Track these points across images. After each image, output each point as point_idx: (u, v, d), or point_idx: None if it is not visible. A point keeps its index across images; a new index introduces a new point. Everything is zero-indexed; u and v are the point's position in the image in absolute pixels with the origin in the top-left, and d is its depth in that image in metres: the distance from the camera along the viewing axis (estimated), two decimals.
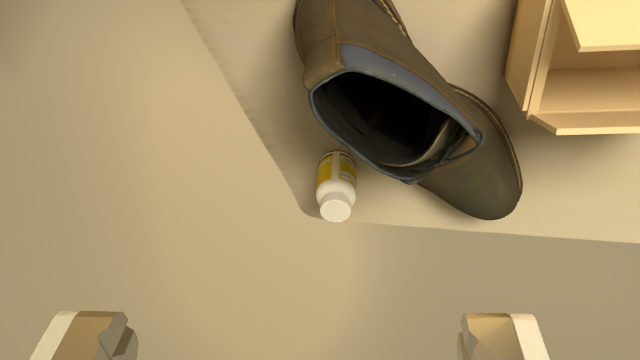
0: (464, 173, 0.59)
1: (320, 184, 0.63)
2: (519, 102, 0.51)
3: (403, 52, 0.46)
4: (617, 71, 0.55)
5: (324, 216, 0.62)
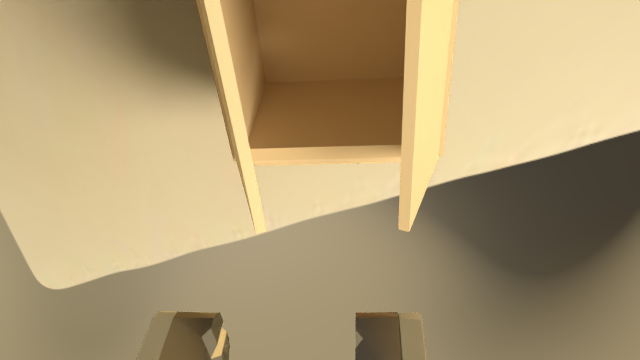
0: None
1: None
2: None
3: None
4: (254, 31, 0.35)
5: None
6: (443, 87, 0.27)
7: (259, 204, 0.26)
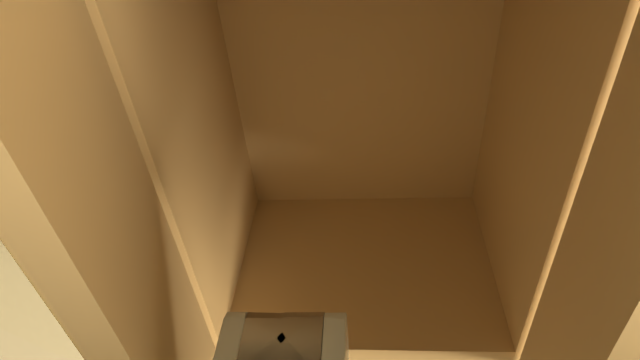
0: None
1: None
2: None
3: None
4: (238, 142, 0.24)
5: None
6: None
7: None
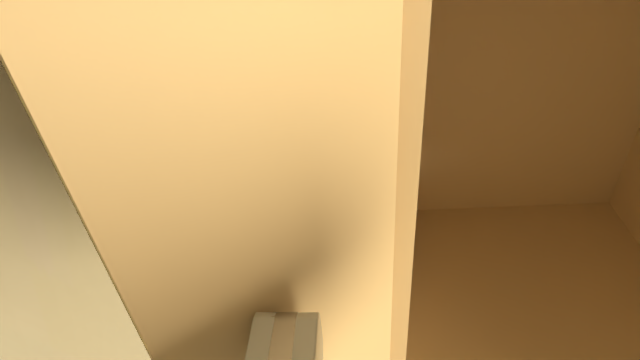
0: None
1: None
2: None
3: None
4: None
5: None
6: None
7: None
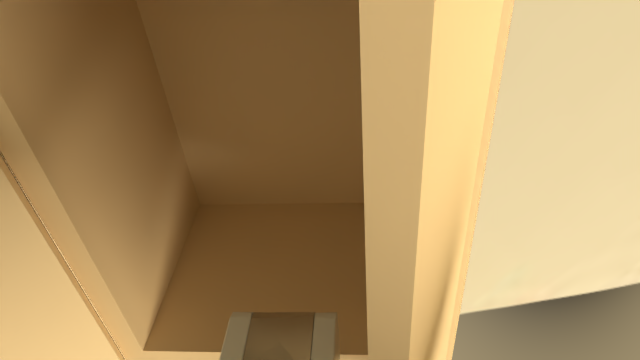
0: None
1: None
2: None
3: None
4: (171, 148, 0.24)
5: None
6: (452, 309, 0.16)
7: None
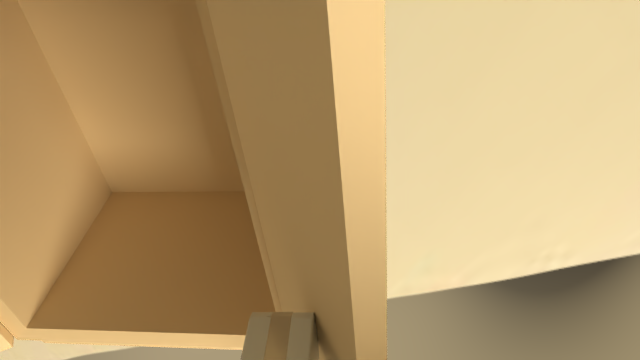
0: None
1: None
2: None
3: None
4: (69, 138, 0.25)
5: None
6: None
7: None
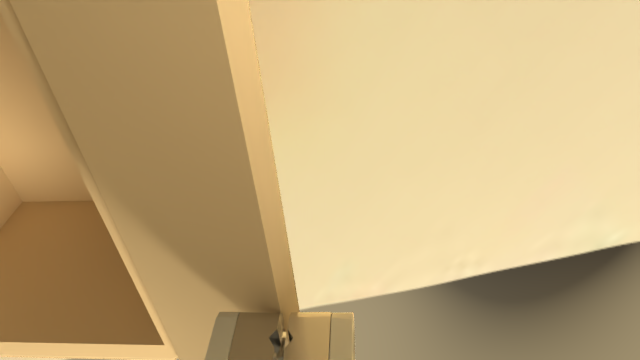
0: None
1: None
2: None
3: None
4: None
5: None
6: None
7: None
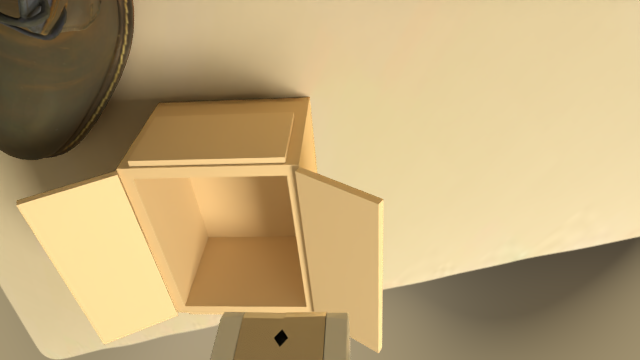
0: (8, 58, 0.34)
1: None
2: (137, 151, 0.37)
3: None
4: (195, 212, 0.50)
5: None
6: None
7: (96, 331, 0.44)
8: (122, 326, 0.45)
